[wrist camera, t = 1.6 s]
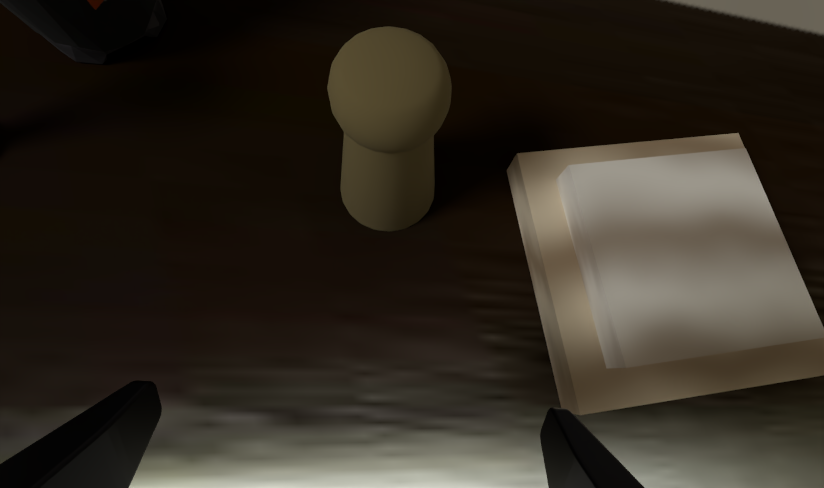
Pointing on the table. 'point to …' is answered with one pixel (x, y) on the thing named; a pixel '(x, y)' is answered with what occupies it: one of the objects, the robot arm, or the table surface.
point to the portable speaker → (90, 24)
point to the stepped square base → (661, 273)
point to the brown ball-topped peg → (388, 124)
